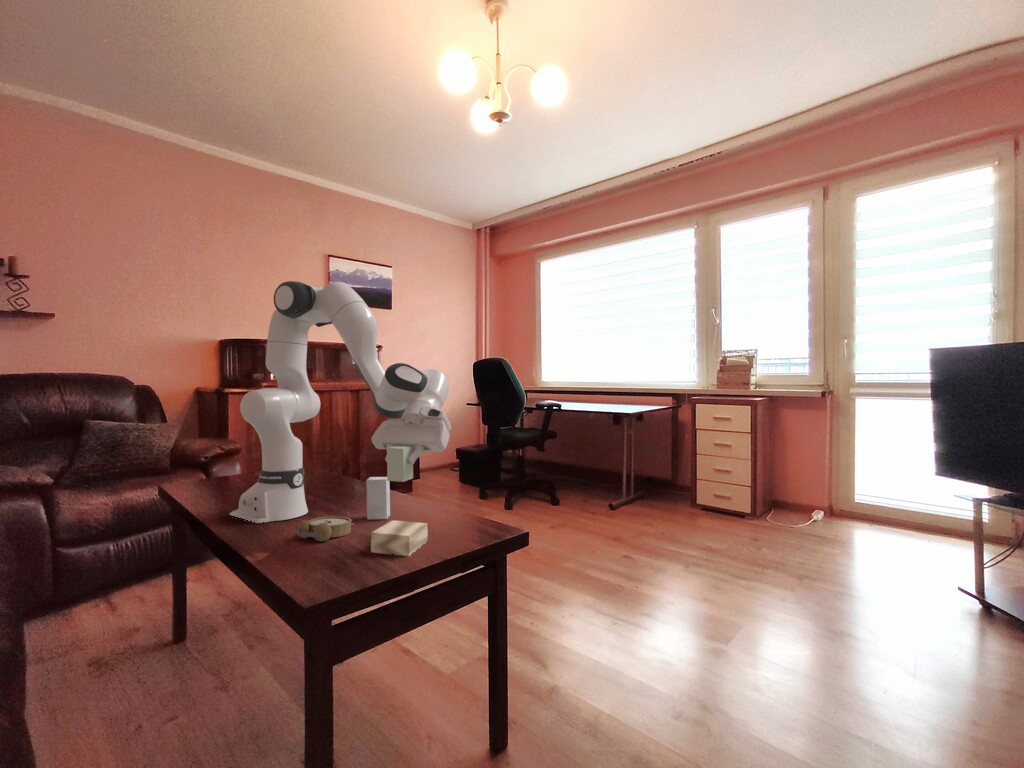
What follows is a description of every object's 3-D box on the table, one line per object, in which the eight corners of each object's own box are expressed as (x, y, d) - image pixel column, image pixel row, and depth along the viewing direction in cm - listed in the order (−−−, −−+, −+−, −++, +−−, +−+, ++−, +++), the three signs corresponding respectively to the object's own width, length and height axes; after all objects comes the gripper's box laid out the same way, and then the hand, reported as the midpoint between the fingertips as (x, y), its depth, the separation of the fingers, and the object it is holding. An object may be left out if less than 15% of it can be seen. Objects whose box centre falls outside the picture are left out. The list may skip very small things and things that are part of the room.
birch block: (371, 553, 106) (371, 532, 106) (392, 539, 116) (392, 520, 116) (409, 557, 104) (409, 535, 104) (427, 542, 114) (427, 523, 114)
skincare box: (390, 515, 136) (390, 476, 136) (386, 520, 132) (387, 479, 132) (370, 515, 136) (370, 476, 136) (365, 520, 131) (366, 479, 131)
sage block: (387, 480, 108) (387, 447, 108) (397, 476, 113) (397, 445, 113) (403, 481, 107) (403, 448, 107) (412, 478, 111) (413, 446, 111)
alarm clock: (361, 519, 124) (320, 524, 110) (358, 537, 123) (317, 545, 109) (330, 514, 128) (286, 519, 114) (327, 532, 127) (283, 539, 113)
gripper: (380, 410, 120) (357, 452, 110) (449, 412, 114) (431, 456, 104) (389, 425, 124) (368, 467, 115) (456, 428, 118) (440, 471, 109)
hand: (399, 462), depth 109 cm, fingers closed on sage block, 4 cm apart
